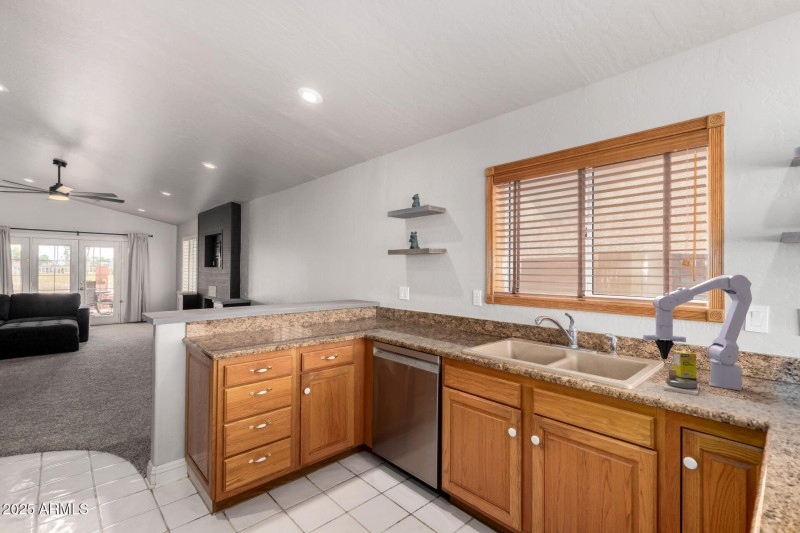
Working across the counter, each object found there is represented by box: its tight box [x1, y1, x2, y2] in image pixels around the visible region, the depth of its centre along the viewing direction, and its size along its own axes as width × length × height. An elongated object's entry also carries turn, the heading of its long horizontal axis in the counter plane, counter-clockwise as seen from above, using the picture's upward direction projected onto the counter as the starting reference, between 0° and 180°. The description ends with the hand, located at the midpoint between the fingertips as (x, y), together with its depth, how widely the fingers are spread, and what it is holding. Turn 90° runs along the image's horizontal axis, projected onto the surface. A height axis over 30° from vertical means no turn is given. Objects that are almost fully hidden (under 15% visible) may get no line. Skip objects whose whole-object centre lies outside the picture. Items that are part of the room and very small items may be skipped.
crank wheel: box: [665, 368, 699, 389], centre depth 144 cm, size 10×10×5 cm
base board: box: [663, 382, 700, 396], centre depth 144 cm, size 10×13×1 cm
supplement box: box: [672, 350, 697, 381], centre depth 159 cm, size 6×6×11 cm
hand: (664, 358), depth 153 cm, fingers closed
